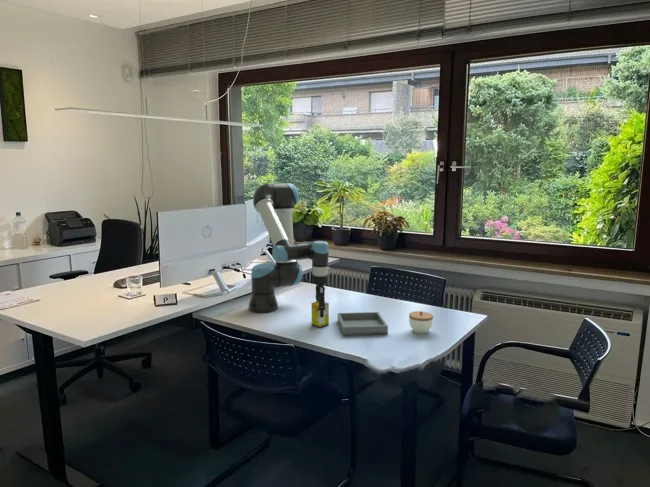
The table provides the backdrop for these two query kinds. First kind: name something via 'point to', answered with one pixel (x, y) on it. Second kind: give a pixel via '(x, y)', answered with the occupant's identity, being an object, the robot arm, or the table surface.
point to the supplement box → (316, 312)
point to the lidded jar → (420, 321)
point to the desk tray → (362, 324)
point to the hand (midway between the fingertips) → (320, 318)
